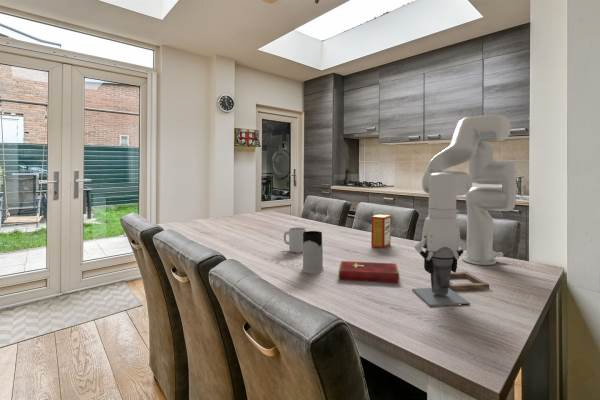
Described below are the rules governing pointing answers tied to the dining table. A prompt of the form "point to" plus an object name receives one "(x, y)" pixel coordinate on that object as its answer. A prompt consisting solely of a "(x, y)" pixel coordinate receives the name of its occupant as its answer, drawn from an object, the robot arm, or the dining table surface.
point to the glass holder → (312, 252)
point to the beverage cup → (441, 270)
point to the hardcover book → (369, 271)
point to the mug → (295, 239)
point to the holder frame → (475, 285)
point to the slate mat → (439, 297)
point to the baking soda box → (381, 231)
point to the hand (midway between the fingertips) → (440, 270)
